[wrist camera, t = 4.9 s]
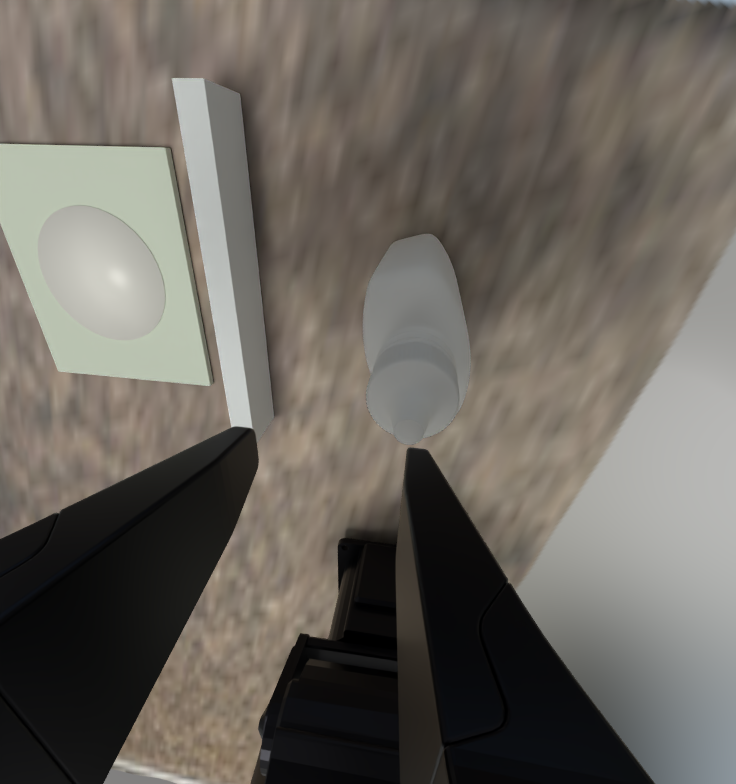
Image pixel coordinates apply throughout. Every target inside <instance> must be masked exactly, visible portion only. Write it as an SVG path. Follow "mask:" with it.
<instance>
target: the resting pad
mask: <svg viewBox="0 0 736 784" xmlns="http://www.w3.org/2000/svg"><path fill="white" fill-rule="evenodd" d="M0 224H1V226H2V229H3V231H4V234H5V237H6V239H7V242H8V244H9V247H10V249H11V252H12V254H13V257H14V260H15V262H16V265H17V267H18V270H19V272H20V275H21V277H22V280H23V282H24V285H25V288H26V290H27V293H28V295H29V298H30V300H31V303H32V305H33V308H34V310H35V313H36V316H37V318H38V321H39V323H40V326H41V328H42V331H43V333H44V336H45V339H46V341H47V344H48V346H49V349H50V351H51V354H52V356H53V359H54V361H55V364H56V367H57V369H58V371H60V372H70V373H81V374H91V375H101V376H112V377H122V378H132V379H143V380H153V381H163V382H173V383H184V384H194V385H204V386H211V385H212V384H213V383H214V382H213V377H212V372H211V366H210V361H209V355H208V350H207V344H206V339H205V334H204V328H203V323H202V317H201V312H200V306H199V301H198V296H197V290H196V285H195V279H194V274H193V268H192V263H191V258H190V252H189V247H188V241H187V236H186V230H185V225H184V220H183V214H182V209H181V203H180V198H179V192H178V187H177V182H176V176H175V171H174V165H173V160H172V154H171V149H170V148H163V147H119V146H75V145H31V144H0Z"/></svg>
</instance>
